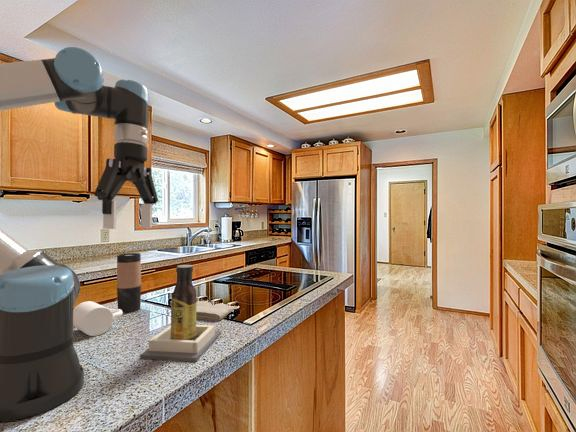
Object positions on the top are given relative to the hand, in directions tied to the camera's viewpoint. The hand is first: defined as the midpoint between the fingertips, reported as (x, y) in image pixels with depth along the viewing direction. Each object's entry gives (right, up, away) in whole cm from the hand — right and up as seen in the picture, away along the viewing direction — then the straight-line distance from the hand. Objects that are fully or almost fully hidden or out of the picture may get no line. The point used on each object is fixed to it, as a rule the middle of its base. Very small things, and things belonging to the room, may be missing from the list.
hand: (129, 228), depth 76 cm
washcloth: (+12, -31, +28) cm, 44 cm away
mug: (-16, -31, +13) cm, 37 cm away
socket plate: (+13, -30, +2) cm, 33 cm away
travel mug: (-17, -31, +32) cm, 47 cm away
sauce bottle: (+13, -30, +2) cm, 33 cm away
